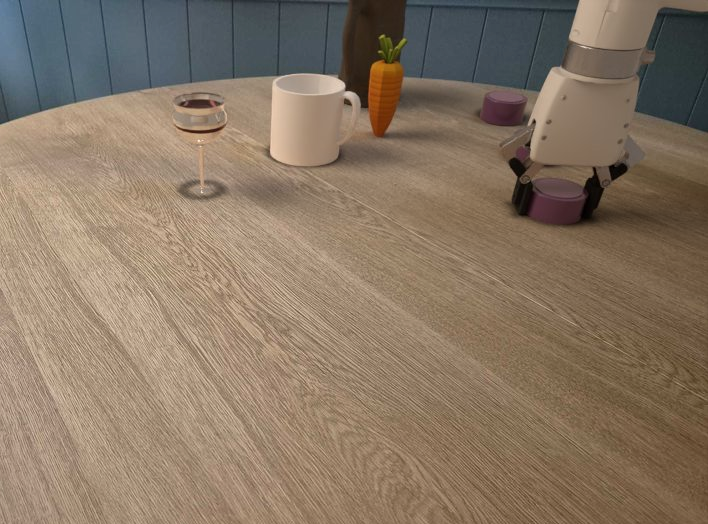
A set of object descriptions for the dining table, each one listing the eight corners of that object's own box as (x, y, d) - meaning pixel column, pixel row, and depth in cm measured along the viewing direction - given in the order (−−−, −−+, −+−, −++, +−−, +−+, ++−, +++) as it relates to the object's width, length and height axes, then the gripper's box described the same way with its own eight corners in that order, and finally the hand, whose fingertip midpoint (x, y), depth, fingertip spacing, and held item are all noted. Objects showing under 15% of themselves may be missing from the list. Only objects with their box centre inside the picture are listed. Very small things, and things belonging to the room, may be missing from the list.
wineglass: (209, 178, 90) (207, 88, 83) (238, 196, 86) (238, 102, 79) (167, 190, 87) (160, 98, 80) (195, 209, 83) (191, 113, 75)
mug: (259, 162, 95) (260, 89, 88) (284, 139, 102) (288, 70, 96) (342, 178, 91) (350, 102, 84) (363, 153, 98) (372, 81, 92)
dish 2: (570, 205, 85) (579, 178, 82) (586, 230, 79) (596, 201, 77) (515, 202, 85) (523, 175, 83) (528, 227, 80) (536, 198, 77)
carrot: (397, 136, 104) (413, 32, 94) (389, 146, 100) (405, 40, 91) (366, 131, 105) (379, 29, 96) (357, 141, 102) (370, 36, 92)
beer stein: (347, 84, 125) (357, -36, 111) (403, 92, 121) (420, -31, 108) (318, 114, 114) (325, -14, 101) (378, 123, 111) (393, -8, 97)
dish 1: (517, 113, 113) (522, 90, 110) (526, 127, 107) (532, 103, 105) (476, 111, 113) (481, 89, 111) (483, 125, 108) (488, 102, 106)
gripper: (670, 54, 73) (613, 202, 84) (510, 48, 74) (474, 194, 85) (700, 73, 67) (634, 229, 78) (525, 66, 69) (484, 221, 80)
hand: (551, 210), depth 82 cm, fingers open, 7 cm apart
